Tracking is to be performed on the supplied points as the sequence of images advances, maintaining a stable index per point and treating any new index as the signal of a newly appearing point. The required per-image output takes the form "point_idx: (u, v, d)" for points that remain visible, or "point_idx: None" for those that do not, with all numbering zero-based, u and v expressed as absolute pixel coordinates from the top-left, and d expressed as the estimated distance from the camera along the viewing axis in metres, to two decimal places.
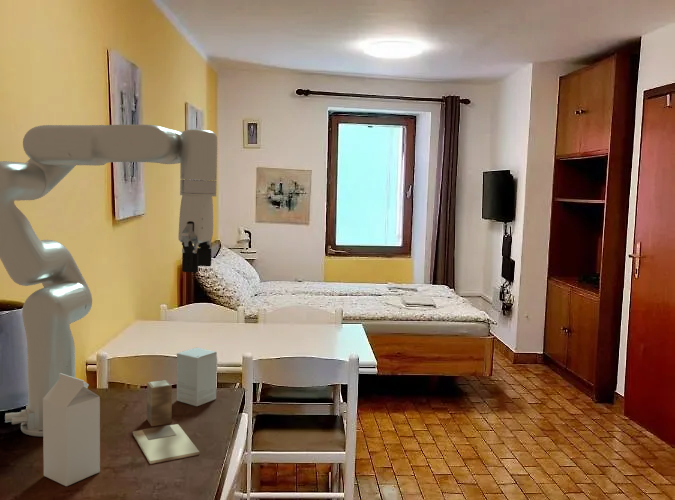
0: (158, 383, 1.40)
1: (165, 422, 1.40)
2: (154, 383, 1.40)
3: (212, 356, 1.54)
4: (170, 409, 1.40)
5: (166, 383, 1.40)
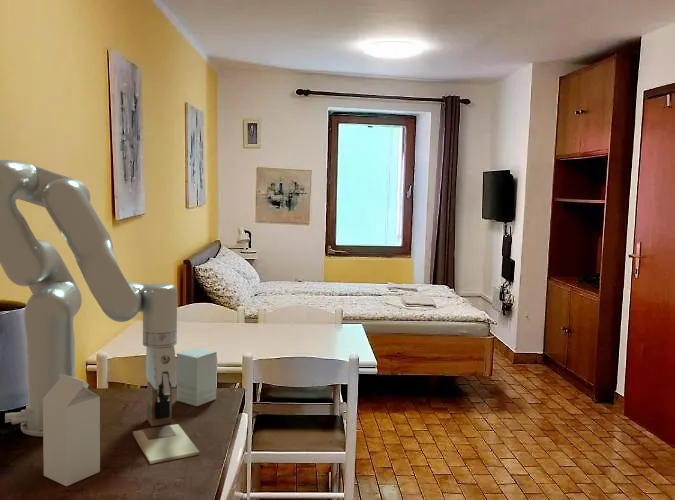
0: None
1: (165, 422, 1.40)
2: None
3: (212, 356, 1.54)
4: (170, 409, 1.40)
5: None
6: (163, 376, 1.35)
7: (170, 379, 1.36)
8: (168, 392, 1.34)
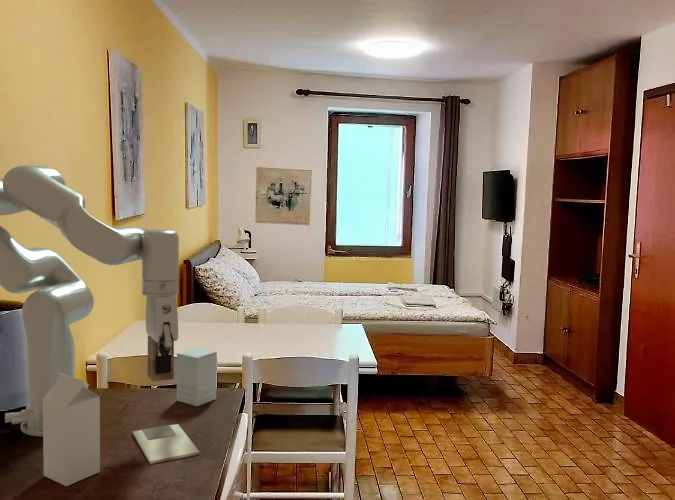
0: None
1: (167, 378, 1.30)
2: None
3: (212, 356, 1.54)
4: (172, 364, 1.31)
5: None
6: (164, 327, 1.26)
7: (172, 330, 1.27)
8: (169, 344, 1.25)
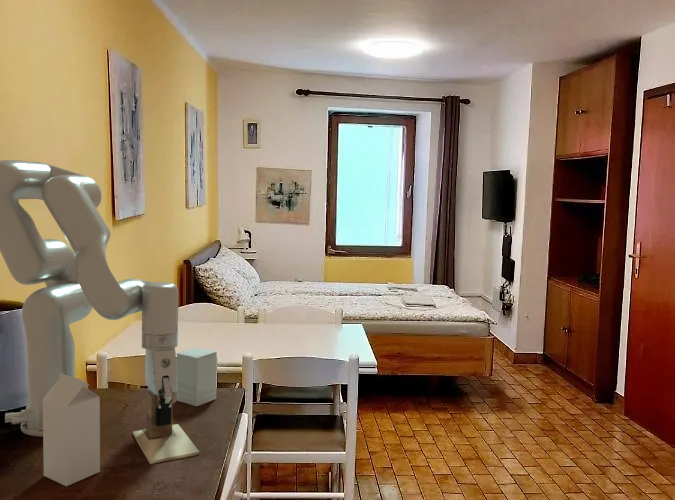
0: None
1: (165, 433, 1.32)
2: None
3: (212, 356, 1.54)
4: (171, 419, 1.32)
5: None
6: (163, 379, 1.27)
7: (171, 384, 1.28)
8: (169, 395, 1.25)
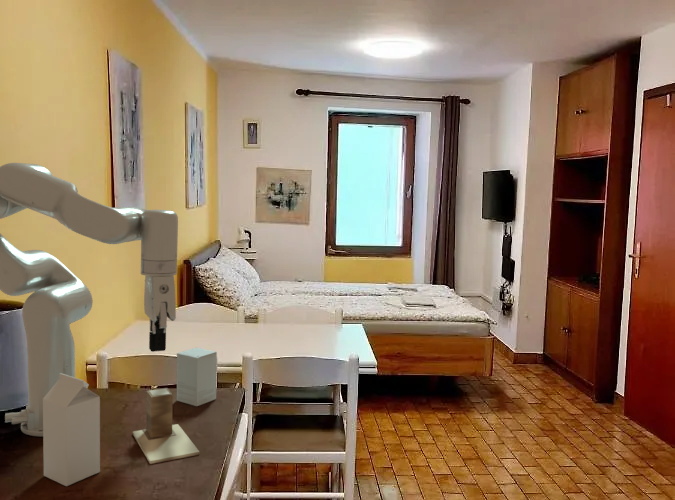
0: (158, 392, 1.32)
1: (165, 433, 1.32)
2: (154, 392, 1.32)
3: (212, 356, 1.54)
4: (171, 419, 1.32)
5: (166, 392, 1.32)
6: (161, 308, 1.27)
7: (169, 310, 1.27)
8: (164, 326, 1.27)
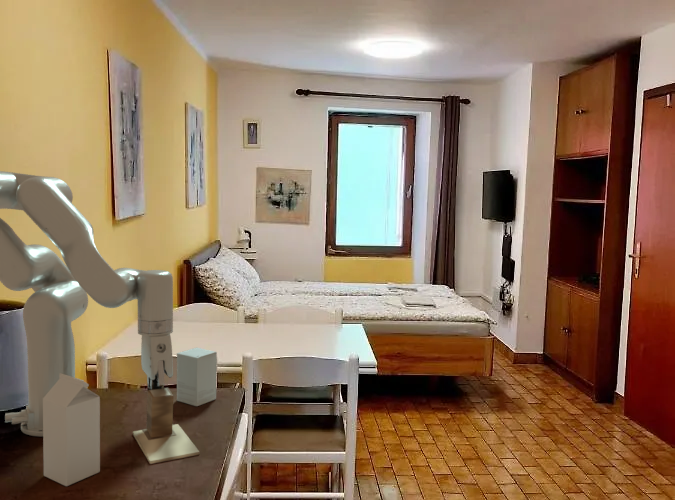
0: (159, 392, 1.32)
1: (165, 433, 1.32)
2: (155, 392, 1.31)
3: (212, 356, 1.54)
4: (171, 420, 1.32)
5: (167, 392, 1.32)
6: (159, 366, 1.32)
7: (166, 368, 1.32)
8: (162, 384, 1.31)
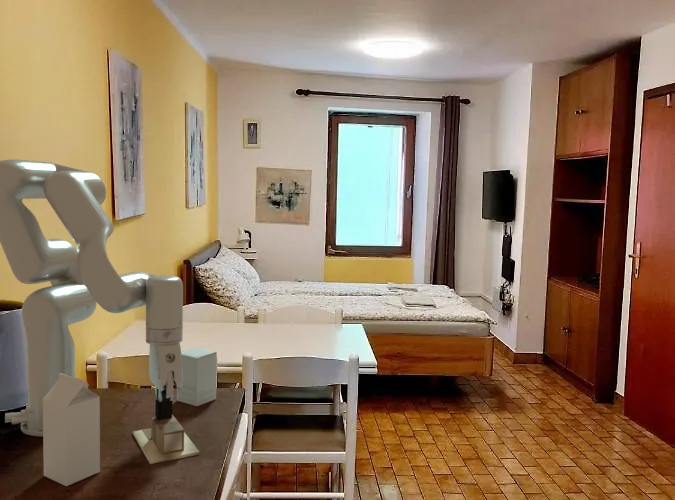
0: (172, 442, 1.23)
1: None
2: (168, 441, 1.23)
3: (212, 356, 1.54)
4: None
5: (180, 443, 1.24)
6: (167, 377, 1.25)
7: (176, 379, 1.25)
8: (171, 396, 1.25)
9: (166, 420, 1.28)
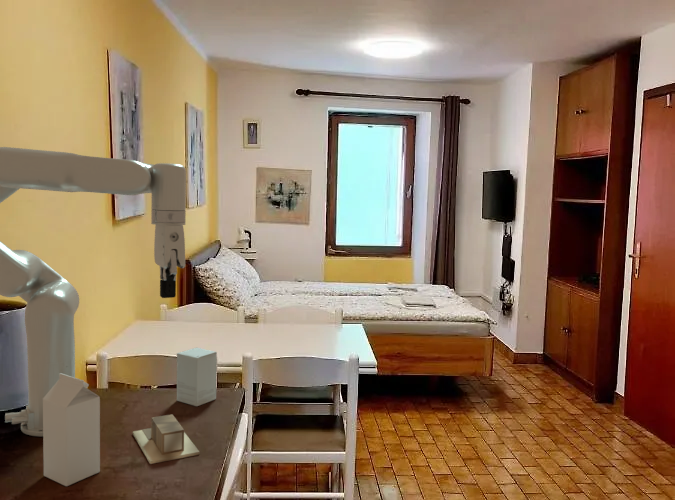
0: (172, 442, 1.23)
1: None
2: (168, 441, 1.23)
3: (212, 356, 1.54)
4: None
5: (180, 443, 1.24)
6: (171, 255, 1.35)
7: (179, 257, 1.35)
8: (175, 272, 1.35)
9: (166, 420, 1.28)
